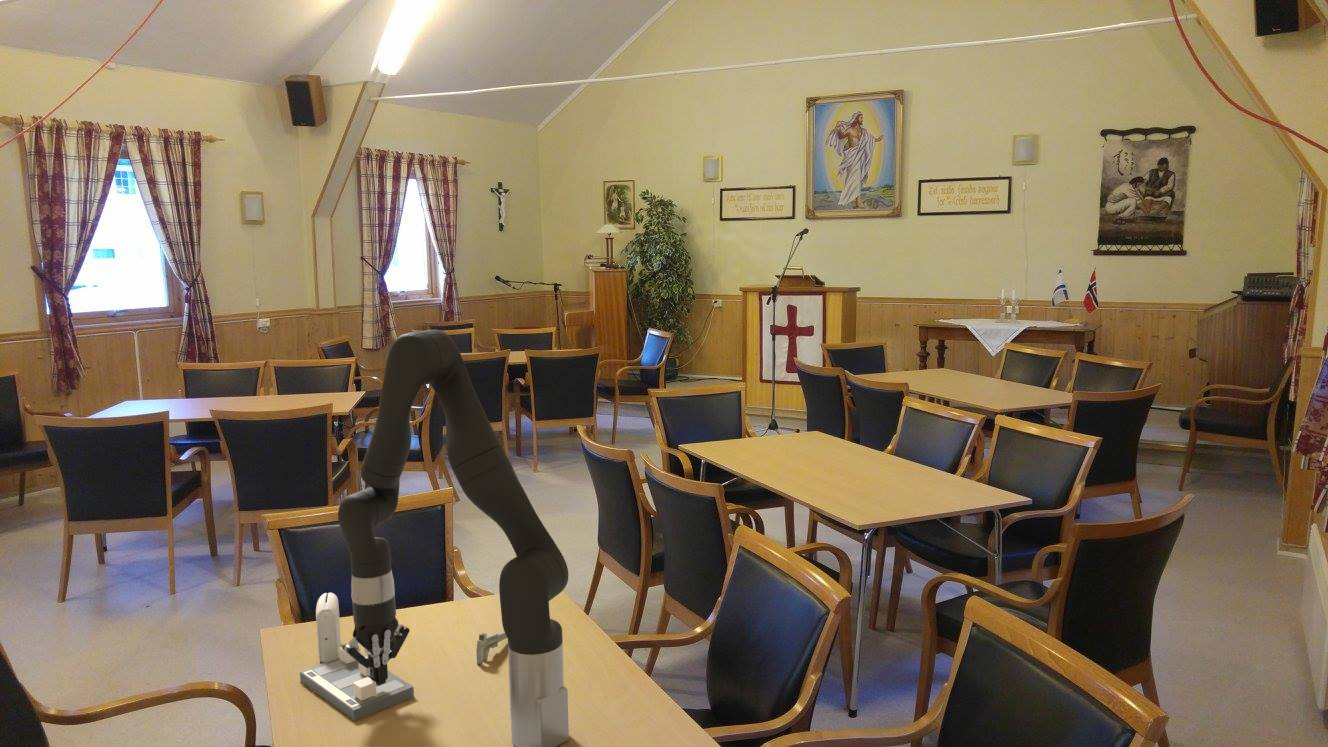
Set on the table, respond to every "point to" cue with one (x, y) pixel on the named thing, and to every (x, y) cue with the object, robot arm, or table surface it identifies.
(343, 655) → the tab
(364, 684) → the tab
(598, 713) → the table surface
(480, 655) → the caliper
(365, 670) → the middle tab
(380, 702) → the switch board
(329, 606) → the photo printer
